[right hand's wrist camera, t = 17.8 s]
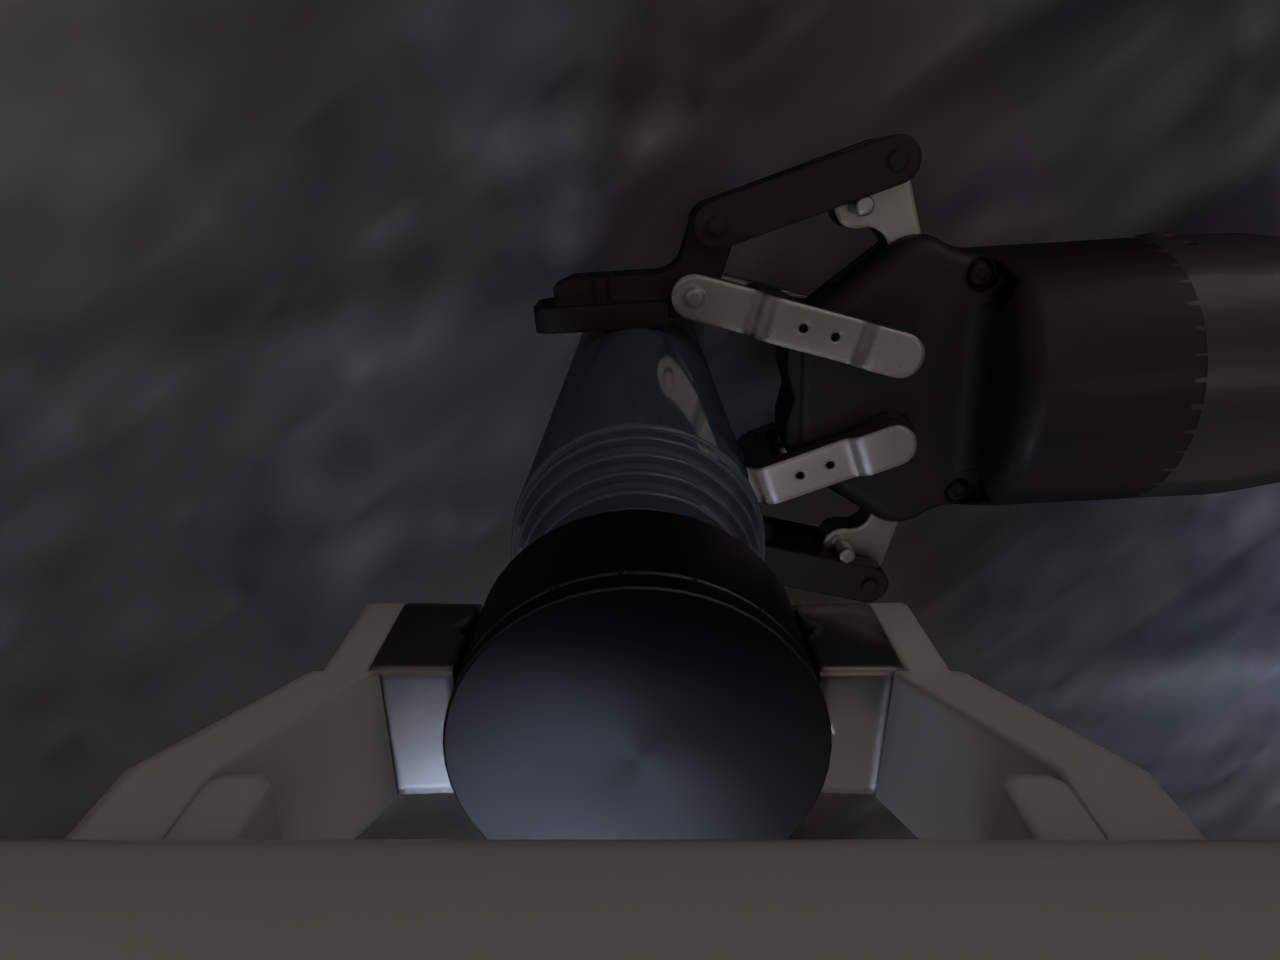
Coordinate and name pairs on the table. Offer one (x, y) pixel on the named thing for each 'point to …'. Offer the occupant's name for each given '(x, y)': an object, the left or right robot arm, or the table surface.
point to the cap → (637, 691)
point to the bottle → (639, 440)
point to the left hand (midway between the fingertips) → (549, 402)
